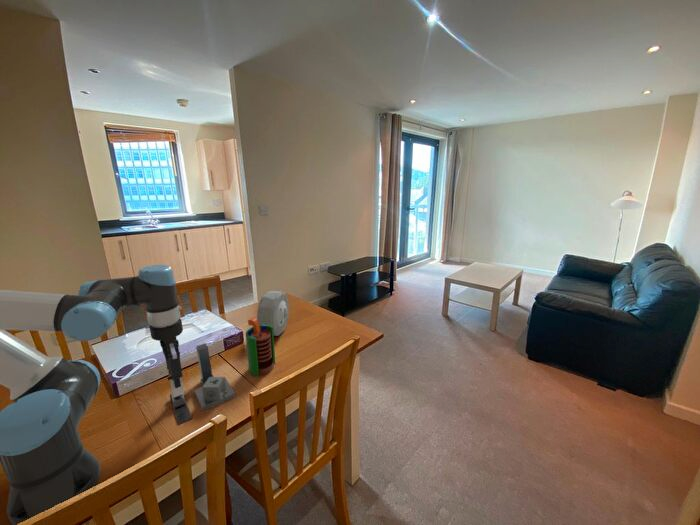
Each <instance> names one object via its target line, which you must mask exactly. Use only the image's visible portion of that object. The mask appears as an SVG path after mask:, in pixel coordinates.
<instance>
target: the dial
mask: <svg viewBox="0 0 700 525" xmlns="http://www.w3.org/2000/svg"><path fill="white" fill-rule="evenodd" d="M289 314H290V305H289V299H288V297H287V295H286V294H285V292H284V291H281V290H279V291H278V290H268V291H266V292H265V293H264V294H263V295H262V296H261V298H260V300H259V304H258V307H257V310H256V319H257V320H258V322H259V325H270V326H272V327H273V335H274V337H275V336H276V337H279V336H280V335H281V334H282V333H283V332H284V330H285V328H286V327H287V323H288V320H289Z"/></svg>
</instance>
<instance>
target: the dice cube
mask: <svg viewBox="0 0 700 525" xmlns="http://www.w3.org/2000/svg"><path fill="white" fill-rule="evenodd" d="M225 378H226V377H225V376H214V377H209V378H208V380H207V381H206V383H205V384H204V385H203V386H201V387H202V390H203V396H204V401H220V400H221V398H222V396H223V395H224V393H225V391H226V383H225Z"/></svg>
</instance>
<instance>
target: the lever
mask: <svg viewBox="0 0 700 525" xmlns="http://www.w3.org/2000/svg"><path fill="white" fill-rule="evenodd" d="M169 376H171V375H170V374H168V377H169ZM171 394H172V395H171V397H172V401H173V404H174V407H175V408H176V407H178V406H181V405H183V404H185V401H186V399H185V396H184V394H182V395H179V396H177V397H174V396H173V393H171Z"/></svg>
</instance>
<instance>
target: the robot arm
mask: <svg viewBox="0 0 700 525" xmlns="http://www.w3.org/2000/svg"><path fill="white" fill-rule="evenodd" d="M142 305H143V306H144V307H145V314H146V319H147V324H148V325H149V333H150V336H151V339H152V340H155V341H159V345H160V346H161V350H162V353H163V355H164V358H165V363H166V370H168V377H167V380H168V381H169V382H170V386H171V393H172V394H173V396H174V397H177V396H179V395H182V394H183V395H184V394H185V390H184V383H183V378H182V377H183V372H182V371H183V368H182V364H181V363H182V362H181V358H180V357H181V352H180V348H179V346H180V343H179V342H180V341H179V340H178V338H177V337H178V336H180V335H181V334H183V330H184V329H183V322H182V318H181V311H180V310H182V309H183V308H182V306H180V304H179V299H178V294H177V286H176V280H175V277H174V273H173V269H172V267H171V266H169V265H167V264H154V265H150V266H145V267H142V268H140V269H139V270H138V275H136V276H129V277H128V276H127V277H118V278H109V279H103V278H101V279H97V280H92V281H85V282H84V283H82V284H81V285H80V287H79V290H78V295H77V294H67V293H66V294H65V293H51V292H50V293H49V292H38V291H37V292H35V291H24V290H11V289H10V290H9V289H0V385H1V386H4V387H5V388H7V389H8V390H9V391H10V393H9V394H10V396H9V400H10V401H13V402H14V403H13V402H12V403H10V404H8V405H7V406H6V407H4V408H3V409H2V410H1V411H0V464H1V468H2V470H3V472H4V474H5V476H6V479H7V481H8V483H9V493H8V500H7V505H6V514H7V517H8V521H9V522H10V524H11V525H17V524H18V523H20V522H23V521H25V520H27V519H29V518H31V517H33V516H35V515H37V514H39V513H41V512H44V511H45V510H48V509H50V508H52V507H54V506H55V505H57V504H59V503H62V502H64V501H66V500H68V499H70V498H72V497H74V496H76V495H78V494H80V493H82V492H84V491H86V490H88V489H90V488H92V487H93V486H95V485H96V486H97V483H98V482H99V480H100V478H101V474H102V473H101V472H102V469H101V465H100V461H99V460H98V459H97V457H96V456H94V454H92V453H91V452H90V451H89V450H88V449H87V448H85V447H84V446H83V442H82V439H81V435H80V433H79V424H80V422H81V421H82V419H83V417H84V415H85V414H86V412H87V410H88V408H89V407H90V404H91V403H92V401H93V400H94V398H95V397H96V395H97V393H98V390H99V387H100V385H101V384H100V383H101V374H100V372H99V370H98V368H97V367H96V366H95V365H94V364H93V363H91V362H89V361H86V360H83V359H77V360H75V359H69V360H68V359H66V358H65V357H63V356H61V355H58V356H51V357H50V356H47V355H46V354H45V353H43V352H40V351H39V350H38V349H37V348H34V347H33V346H31V345H29V344H27V342H25V341H23V340H21V339H20V338H18V337H16V336H15V335H14V334H12V333H10V332H9V331H35V332H36V331H37V332H39V331H40V332H63V334H64V335H65V336H66V337H68V338H70V339H73V340H75V341H79V342H89V341H93V340H96V339H98V338H100V337H103V336H104V335H105V334H106V333H107V331H108V330H110V329H111V328H112V327H113V325H114V324H115V322H116V320H117V319H118V317H119V315H120V314H121V312H122V311H123V310H124V309H125V308H131V307H136V306H137V307H138V306H142ZM169 375H171V376H169Z"/></svg>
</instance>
